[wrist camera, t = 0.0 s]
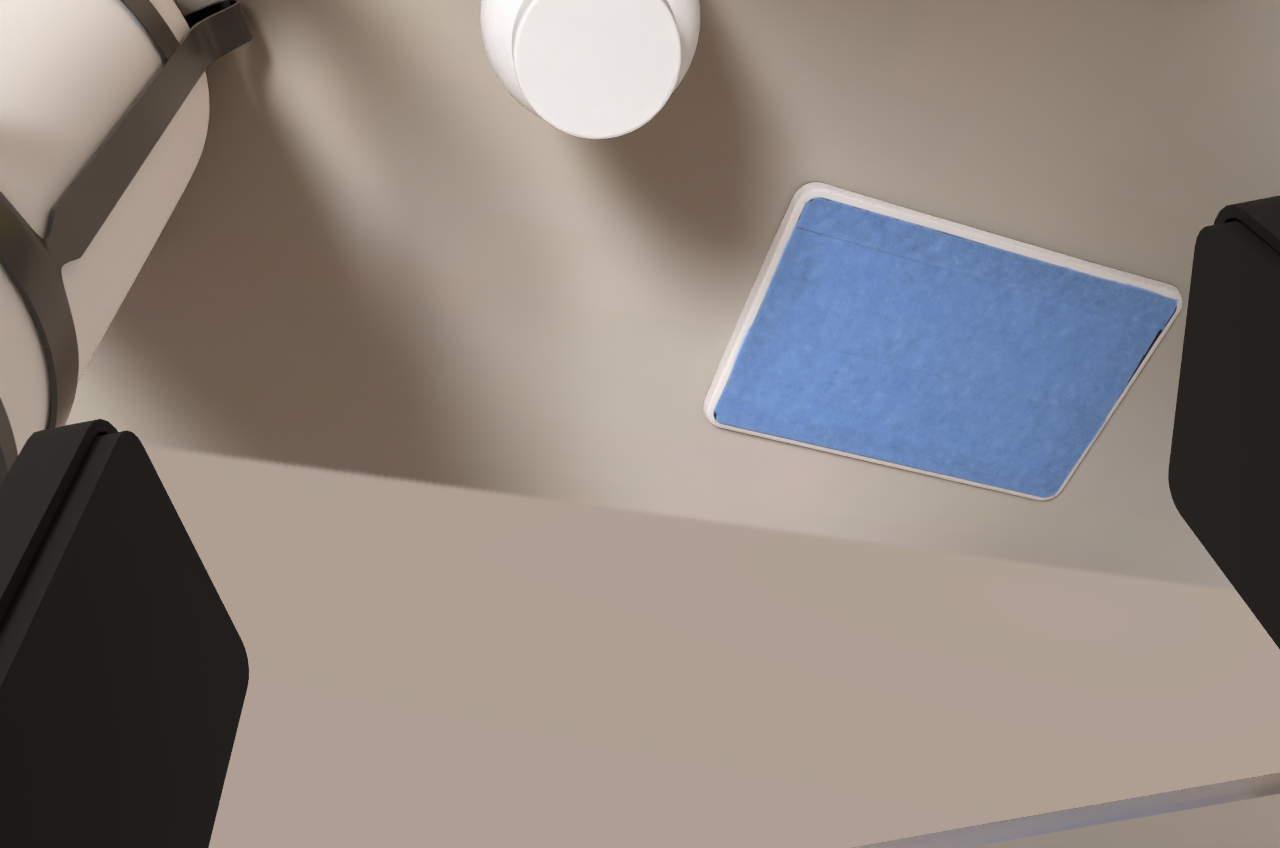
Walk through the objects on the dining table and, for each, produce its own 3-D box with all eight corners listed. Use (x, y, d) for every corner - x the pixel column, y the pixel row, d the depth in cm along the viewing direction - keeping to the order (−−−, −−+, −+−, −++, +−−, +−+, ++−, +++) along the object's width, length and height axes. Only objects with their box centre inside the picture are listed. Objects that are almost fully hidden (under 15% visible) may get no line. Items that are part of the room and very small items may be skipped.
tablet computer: (1183, 283, 54) (1197, 297, 53) (1046, 494, 61) (1056, 511, 60) (798, 169, 49) (805, 181, 48) (694, 411, 56) (698, 427, 55)
